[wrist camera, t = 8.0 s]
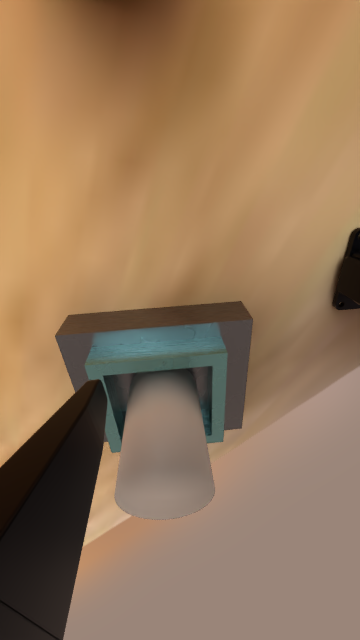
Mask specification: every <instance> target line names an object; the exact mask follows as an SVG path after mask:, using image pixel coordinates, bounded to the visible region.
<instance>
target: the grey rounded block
mask: <svg viewBox="0 0 360 640" xmlns="http://www.w3.org/2000/svg"><path fill="white" fill-rule="evenodd" d="M214 493H215V487H214V481H213V475H212V469H211V464H210V458H209V452H208V447H207V441H206V435H205V430H204V424H203V419H202V413H201V407H200V402H199V396H198V390H197V385H196V381H195V378H194V377H193V375H192V374H191V373H190V372H189V371H188V370H186V369H185V368H183V369H171V370H160V371H149V372H138V373H137V374H136V375H135V376H134V377H133V379H132V381H131V384H130V389H129V396H128V403H127V410H126V417H125V424H124V432H123V439H122V446H121V453H120V460H119V467H118V474H117V481H116V488H115V501H116V503H117V505H118V506H119V507H120V508H121V509H122V510H123V511H125V512H126V513H128V514H130V515H133V516H136V517H139V518H144V519H152V520H153V519H154V520H166V519H174V518H180V517H183V516H187V515H190V514H192V513H195V512H197V511H199V510H200V509H202V508H204V507H205V506H206V505H207V504H208V503H209V502H210V501H211V500H212V498H213V496H214Z"/></svg>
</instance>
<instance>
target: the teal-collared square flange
mask: <svg viewBox="0 0 360 640" xmlns="http://www.w3.org/2000/svg"><path fill="white" fill-rule="evenodd" d="M252 323H253V319H252V317H251V316H250V314H249V313H248V311H247V309H246V308H245V306H244V305H243V303H242V302H241V301H238V302H226V303H213V304H201V305H189V306H176V307H164V308H152V309H139V310H127V311H114V312H102V313H90V314H77V315H68V317H67V318H66V320H65V321H64V323H63V324H62V326H61V327H60V329H59V330H58V332H57V333H56V335H55V337H56V340H57V343H58V346H59V348H60V351H61V354H62V357H63V359H64V362H65V365H66V368H67V371H68V373H69V376H70V379H71V382H72V384H73V387H74V390H75V393H76V392H77V391H78V390H79V389H80V388H81V387H82V386H83V385H84V384H85V383H86V382H87V381H89V380H95V379H100V380H101V381H102V383H103V386H104V389H105V392H106V395H107V400H108V404H107V414H106V425H105V435H104V442H109V445H110V449H111V452H112V453H114V452H121V446H122V439H123V432H124V424H125V417H126V410H127V403H128V396H129V389H130V384H131V381H132V379H133V377H134V376H135V375H136V374H137V373H138V372H149V371H160V370H171V369H183V368H185V369H186V370H188V371H189V372H190V373H191V374H192V375H193V377H194V378H195V381H196V385H197V390H198V396H199V402H200V407H201V413H202V419H203V424H204V430H205V435H206V441H207V443H215V442H223V437H224V430H230V429H241V428H242V420H243V410H244V401H245V391H246V381H247V372H248V362H249V352H250V342H251V333H252Z"/></svg>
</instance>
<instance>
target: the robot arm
mask: <svg viewBox="0 0 360 640" xmlns="http://www.w3.org/2000/svg"><path fill="white" fill-rule="evenodd" d="M359 234H360V228H357V229H355V230H354V231H353V232H352V235H351V238H350V242H349V245H348V249H347V253H346V256H345V260H344V262H343V266H342V270H341V273H340V277H339V281H338V284H337V288H336V293H335V296H334V300H333V307H335V308H336V309H337V310H346V309H358V308H360V237H359V238H358V236H359ZM340 302H341V304H340V305H339V303H340ZM107 404H108V400H107V395H106V392H105V389H104V386H103V383H102V381H101V380H100V379H95V380H89V381H87V382H86V383H85V384H84V385H83V386H82V387H81V388H80V389H79V390H78V391H77V392H76V393H75V394H74V395H73V396H72V397H71V398H70V399H69V400H68V401H67V402H66V403H65V404H64V405H63V406H62V407H61V408H60V409H59V410H58V411H57V412H56V413H55V414H54V415H53V416H52V417H51V418H50V419H49V420H48V421H47V422H46V423H45V424H44V425H43V426H42V427H41V428H40V429H38V430H37V431H36V432H35V433H34V434H33V435H32V436H31V437H30V438H29V439H28V440H27V441H26V442H25V443H24V444H23V445H22V446H21V447H20V448H19V449H18V450H17V451H16V452H15V453H14V454H13V455H12V456H11V457H10V458H9V459H8V460H7V461H6V462H5V463H4V464H3V465H2V466H1V467H0V640H63V637H64V632H65V627H66V622H67V618H68V613H69V608H70V603H71V598H72V594H73V589H74V584H75V579H76V574H77V570H78V565H79V561H80V556H81V551H82V546H83V542H84V537H85V532H86V527H87V523H88V518H89V513H90V508H91V503H92V499H93V494H94V489H95V484H96V480H97V475H98V470H99V465H100V461H101V456H102V451H103V444H104V435H105V425H106V414H107Z"/></svg>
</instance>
